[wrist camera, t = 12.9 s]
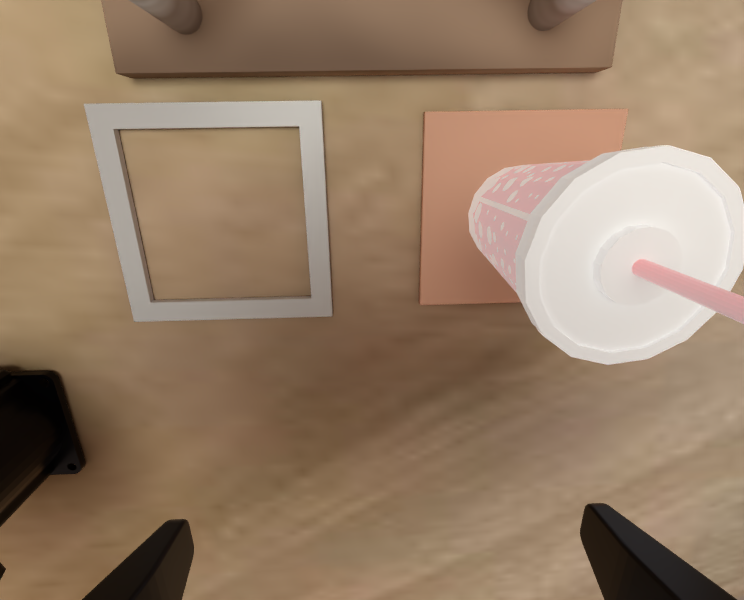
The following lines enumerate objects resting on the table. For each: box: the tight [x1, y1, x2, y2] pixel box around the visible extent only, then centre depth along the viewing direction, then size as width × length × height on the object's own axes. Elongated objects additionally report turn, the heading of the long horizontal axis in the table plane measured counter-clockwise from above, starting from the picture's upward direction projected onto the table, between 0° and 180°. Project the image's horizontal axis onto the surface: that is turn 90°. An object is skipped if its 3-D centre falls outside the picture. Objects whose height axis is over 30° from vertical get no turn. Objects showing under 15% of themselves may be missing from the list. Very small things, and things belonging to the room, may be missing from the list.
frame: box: [84, 101, 333, 322], centre depth 19 cm, size 10×10×1 cm
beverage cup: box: [468, 145, 744, 365], centre depth 13 cm, size 6×6×14 cm
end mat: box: [419, 109, 628, 305], centre depth 20 cm, size 9×9×1 cm
